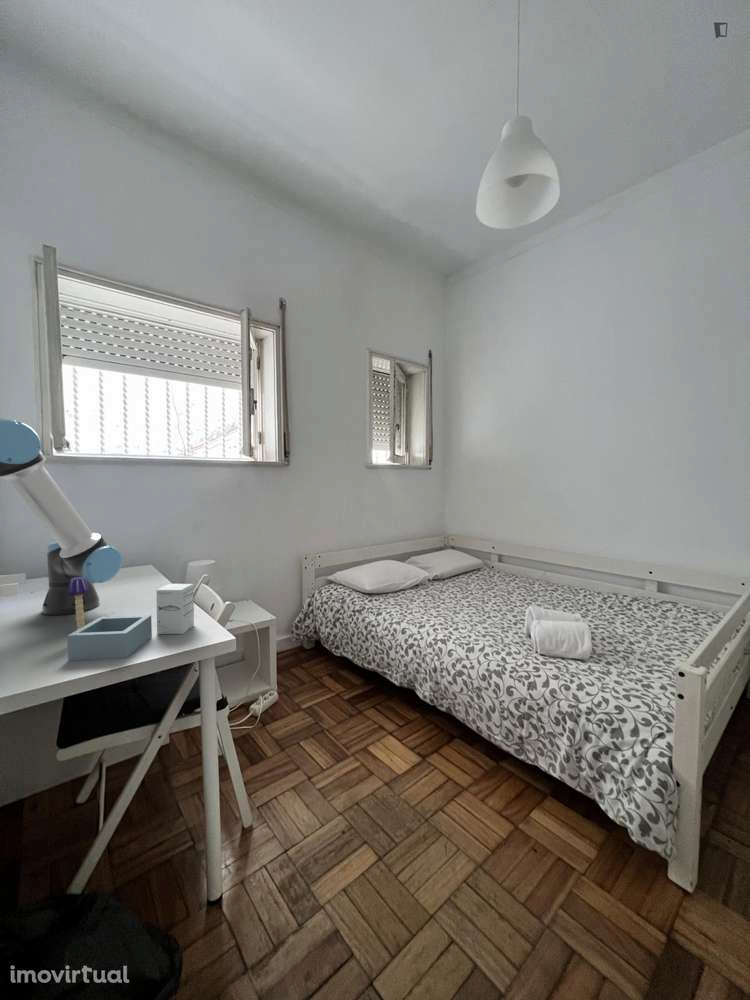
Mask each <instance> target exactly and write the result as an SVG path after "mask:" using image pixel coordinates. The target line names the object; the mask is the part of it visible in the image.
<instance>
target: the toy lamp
mask: <svg viewBox="0 0 750 1000" xmlns="http://www.w3.org/2000/svg"><path fill="white" fill-rule="evenodd" d="M88 591H89V588H88V586H87V583H86V581H85V578H84V577H76V578H72V579H71V580H70V583H69V587H68V591H67V594H68V595H75V596H74V597H75V604H76V606H75V609H76V613H75V615H76V617H75V620H76V627H77V628H76V630H78V629H80V628H82V627H83V626H85V625H86V623H85V616H84V614H85V611H83V604H82V603H83V599H82V597H83V594H84V593H87V592H88Z"/></svg>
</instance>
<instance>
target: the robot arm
mask: <svg viewBox="0 0 750 1000" xmlns="http://www.w3.org/2000/svg"><path fill="white" fill-rule="evenodd" d="M39 436H40V435H38V433H37V432H36V431H35V430H34V429H33V428H32V427H31V426H29V425H27V424H25V423H24V422H21V421H18V420H15V419H7V418H0V479H1V480H6V481H8V482H9V484H10V485H11V486H12V488H13V489H14V490H15V491H16V492H17V494H18V495H19V496H20V497H21V499H22V500H23V501H24V502H25V503H26V505H27V507H28V508H29V509H30V510H31V511H32V513H33V514H34V515H35V517H36V518H37V519H38V520H39V521H40V523H41V525H42V526H43V527H44V528H45V529H46V530H47V532H48V533H49V534H50V535H51V537H52V538H53V540H55V542H50V543H49V544H48V546H47V551H46V555H47V571H48V572H47V576H48V578H47V579H48V589H47V593H46V595H45V598H44V600H43V604H42V606H41V607H42V608H41V609H42V614H43V615H47V616H59V615H61V616H62V615H70V614H76V609H75V606H76V604H75V597H74V596H75V595H68V594H67V591H68V587H69V583H70V580H71V579H72V578H76V577H84V578H85V581H86V583H87V586H88V588H89V591H88V592H87V593H84V594H83V597H82V599H83V603H82V604H83V611H84V612H85V611H89V610H91V609H94V608H96V607H99V606H100V597H99V594H98V592H97V589H96V588H95V585H94V584H101V583H103V584H104V583H106V582H108V581H110V580H113V579H114V578H115V577H116V576H117V575H118V573H120V570H121V567H122V565H123V555H122V553H121V552H120V550H118V549H117V548H116V547H114V546H111V545H108V544H107V542H106V540H104V538H103V537H102V535H101V534H100V533H96V532H92V531H91V529H90V528H89V527H88V526H87V524H86V523H85V522H84V520H83V519H82V517H81V516H80V514H79V513H78V512H77V510H76V509H75V508H74V506H73V505H72V504H71V502H70V501H69V499H68V498H67V497H66V495H65V494H64V493H63V491H62V490H61V488H60V487H59V485H58V484H57V483H56V481H55V480H54V479H53V477H52V476H51V474H50V473H49V472H48V470H47V469H46V467H45V466H44V465H45V462H46V461H47V460H46V456H45V455H44V454H43V452H42V450H41V446H42V443H41V439H40V437H39ZM26 575H27V573H15V574H14V573H13V574H4V575H3V574H2V575H0V598H5V597H6V598H7V597H16V596H18V595H19V585H20V586H21V585H26V584H27V578H26V577H27V576H26Z"/></svg>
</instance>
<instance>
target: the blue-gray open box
mask: <svg viewBox="0 0 750 1000" xmlns="http://www.w3.org/2000/svg"><path fill="white" fill-rule="evenodd" d="M152 630H153V628H152V614H149V615H146V614H145V615H123V616H122V615H119V616H118V615H117V616H116V615H115V616H100V617H98V618H96V619H94V620H93V621H91V622H89V623H87V624H85V625H84V626H83V627H82V628H80V629H78V630H77V629H76V630H75V631H73V632H71V633H69V634H67V636H66V637H67V639H66V640H67V661H68V662H71V661H89V660H90V661H91V660H111V659H112V660H113V659H127V658H129V656H131V655H132V654H133V653H134V652H136V651H137V650H138V649H139V648H141V646H143V645H144V644H146V642H148V641H149V640H150V639H151V638H152V636H153V633H152Z"/></svg>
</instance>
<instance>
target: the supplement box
mask: <svg viewBox="0 0 750 1000" xmlns="http://www.w3.org/2000/svg"><path fill="white" fill-rule="evenodd" d="M194 586H195V585H194V583H168V584H166V585H163V586H161V587H159V588H157V589H156V635H163V634H164V635H167V634H168V635H169V634H170V635H171V634H172V635H183V634H185V633H186V632H187V631H189V630H190V629H191V628H192V627H193V625H194V626H195V611H194V610H195V607H194V605H195V604H194V603H195V599H194V598H195V596H194V595H195V594H194V593H195V591H194V589H195V587H194ZM189 628H190V629H189ZM188 629H189V630H188Z"/></svg>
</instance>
